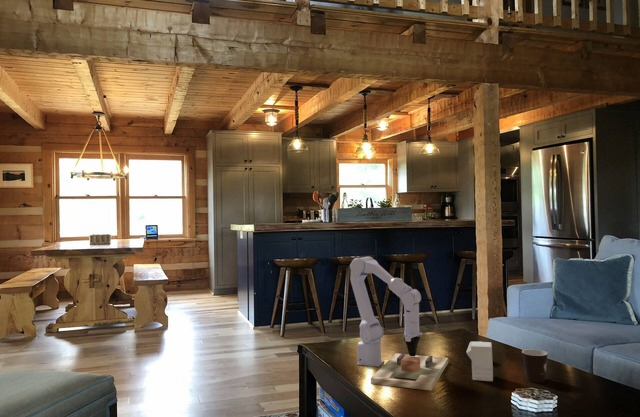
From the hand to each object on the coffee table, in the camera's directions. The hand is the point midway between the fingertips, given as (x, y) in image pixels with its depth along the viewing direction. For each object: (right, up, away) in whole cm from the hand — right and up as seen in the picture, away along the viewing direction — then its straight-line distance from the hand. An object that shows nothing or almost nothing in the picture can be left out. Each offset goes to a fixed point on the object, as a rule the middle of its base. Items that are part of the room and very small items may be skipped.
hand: (412, 355), depth 196 cm
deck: (-1, -6, -2) cm, 6 cm away
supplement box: (+24, -6, -10) cm, 27 cm away
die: (+29, -6, +12) cm, 32 cm away
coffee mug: (+44, -5, -13) cm, 46 cm away
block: (-1, -4, -4) cm, 6 cm away
